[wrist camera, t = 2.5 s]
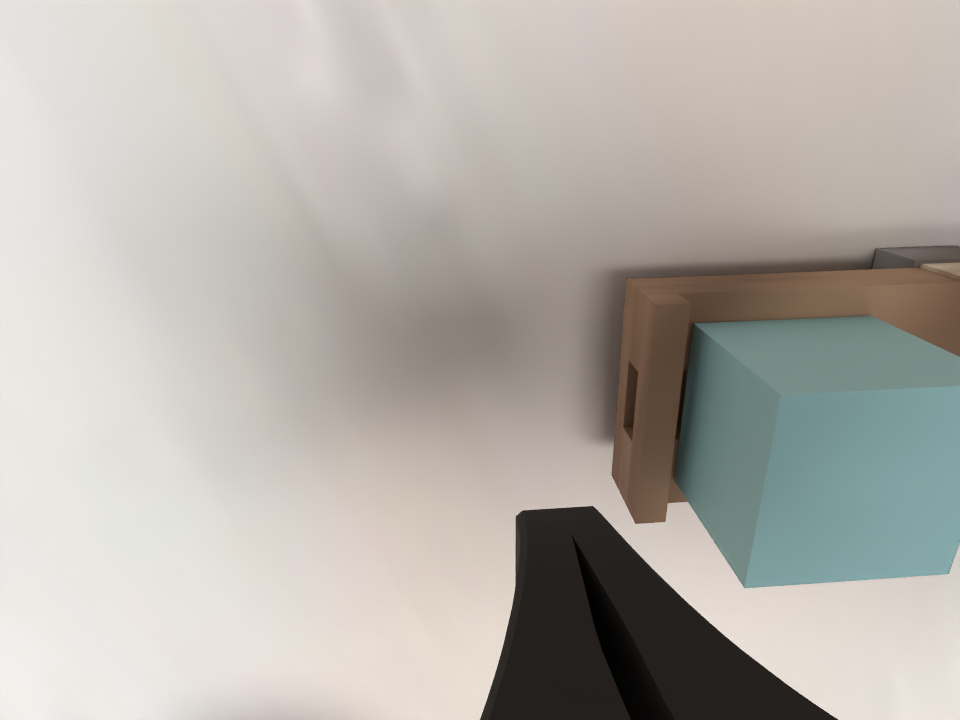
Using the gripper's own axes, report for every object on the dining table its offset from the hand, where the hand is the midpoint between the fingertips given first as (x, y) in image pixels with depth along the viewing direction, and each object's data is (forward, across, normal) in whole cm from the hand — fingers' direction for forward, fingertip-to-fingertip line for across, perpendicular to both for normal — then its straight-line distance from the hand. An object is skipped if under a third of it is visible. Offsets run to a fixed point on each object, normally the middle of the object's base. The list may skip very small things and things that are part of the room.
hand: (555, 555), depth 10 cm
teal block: (+6, -7, 0) cm, 9 cm away
